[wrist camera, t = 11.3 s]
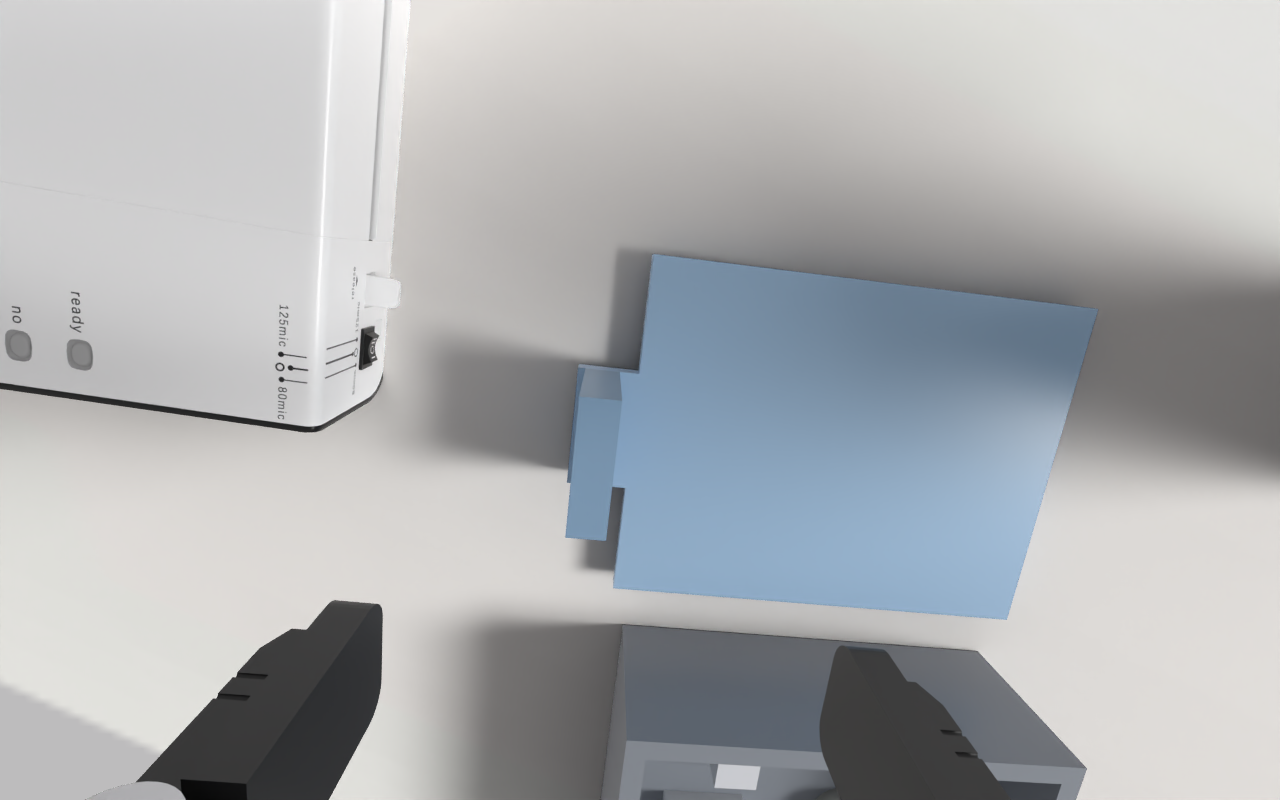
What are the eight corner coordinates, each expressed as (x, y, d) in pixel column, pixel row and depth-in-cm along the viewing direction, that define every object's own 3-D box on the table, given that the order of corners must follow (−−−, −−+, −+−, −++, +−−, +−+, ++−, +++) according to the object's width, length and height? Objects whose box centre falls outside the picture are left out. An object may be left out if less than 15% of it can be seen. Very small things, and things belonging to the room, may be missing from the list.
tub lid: (591, 246, 25) (584, 243, 18) (1065, 305, 26) (1219, 321, 20) (560, 563, 28) (545, 658, 21) (983, 598, 29) (1090, 696, 23)
